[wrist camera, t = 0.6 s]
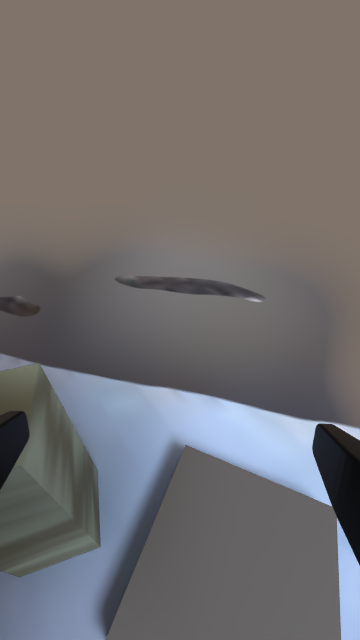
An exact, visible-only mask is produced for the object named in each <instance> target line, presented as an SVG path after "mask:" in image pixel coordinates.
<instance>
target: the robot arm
mask: <svg viewBox="0 0 360 640" xmlns="http://www.w3.org/2000/svg"><path fill="white" fill-rule="evenodd" d="M29 436H30V431H29V426H28V420H27V415H26V413H25V412H24V411H9V412H6V413H4V414H2V415H0V490H1V488H2V487H3V485H4V483H5V481H6V480H7V478H8V476H9V474H10V473H11V471H12V469H13V467H14V465H15V464H16V462H17V460H18V458H19V456H20V455H21V453H22V451H23V449H24V447H25V446H26V444H27V442H28V440H29ZM312 449H313V455H314V458H315V460H316V463H317V466H318V469H319V471H320V474H321V477H322V480H323V482H324V485H325V488H326V491H327V493H328V496H329V499H330V501H331V504H332V507H333V509H334V511H335V514H336V516H337V518H338V520H339V523H340V525H341V527H342V529H343V531H344V533H345V535H346V537H347V539H348V542H349V544H350V546H351V548H352V550H353V552H354V554H355V556H356V558H357V561H358V563H359V565H360V440H358V439H356V438H355V437H353V436H351V435H350V434H348V433H346V432H345V431H343V430H341V429H340V428H338V427H336V426H335V425H333V424H318V425H317V426H316V429H315V435H314V440H313V447H312Z"/></svg>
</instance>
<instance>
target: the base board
mask: <svg viewBox="0 0 360 640" xmlns="http://www.w3.org/2000/svg"><path fill="white" fill-rule="evenodd" d="M106 640H341V626H340V598H339V570H338V543H337V516H336V514H335V511H334V509H333V507H331V506H329V505H327V504H324V503H322V502H319V501H317V500H315V499H312V498H310V497H308V496H305V495H303V494H301V493H298V492H296V491H293V490H291V489H289V488H286V487H284V486H282V485H279V484H277V483H274V482H272V481H270V480H267V479H265V478H263V477H260V476H258V475H256V474H253V473H251V472H248V471H246V470H244V469H241V468H239V467H237V466H234V465H232V464H229V463H227V462H225V461H222V460H220V459H218V458H215V457H213V456H211V455H208V454H206V453H203V452H201V451H199V450H196V449H194V448H192V447H189V446H187V445H185V447H184V450H183V452H182V455H181V457H180V460H179V462H178V464H177V467H176V469H175V472H174V474H173V477H172V479H171V481H170V484H169V486H168V489H167V491H166V494H165V496H164V499H163V501H162V503H161V506H160V508H159V511H158V513H157V516H156V518H155V521H154V523H153V525H152V528H151V530H150V533H149V535H148V538H147V540H146V542H145V545H144V547H143V550H142V552H141V555H140V557H139V560H138V562H137V564H136V567H135V569H134V572H133V574H132V577H131V579H130V582H129V584H128V586H127V589H126V591H125V594H124V596H123V599H122V601H121V603H120V606H119V608H118V611H117V613H116V616H115V618H114V621H113V623H112V625H111V628H110V630H109V633H108V635H107V638H106Z"/></svg>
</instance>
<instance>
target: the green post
mask: <svg viewBox="0 0 360 640" xmlns="http://www.w3.org/2000/svg"><path fill="white" fill-rule="evenodd" d="M9 411H24V412H25V413H26V415H27V420H28V426H29V431H30V436H29V440H28V442H27V444H26V446H25V447H24V449H23V451H22V453H21V455H20V456H19V458H18V460H17V462H16V464H15V465H14V467H13V469H12V471H11V473H10V474H9V476H8V478H7V480H6V481H5V483H4V485H3V487H2V488H1V490H0V571H3V572H6V573H9V574H12V575H14V576H17V577H22V576H24V575H27V574H30V573H32V572H35V571H38V570H40V569H43V568H46V567H48V566H51V565H54V564H56V563H59V562H62V561H64V560H67V559H70V558H72V557H75V556H78V555H80V554H83V553H86V552H88V551H91V550H94V549H96V548H99V547H100V523H99V499H98V475H97V468H96V467H95V465H94V463H93V461H92V459H91V457H90V456H89V454H88V452H87V450H86V448H85V446H84V445H83V443H82V441H81V439H80V437H79V435H78V433H77V432H76V430H75V428H74V426H73V424H72V422H71V421H70V419H69V417H68V415H67V413H66V411H65V410H64V408H63V406H62V404H61V402H60V400H59V399H58V397H57V395H56V393H55V391H54V389H53V387H52V386H51V384H50V382H49V380H48V378H47V376H46V375H45V373H44V371H43V369H42V367H41V365H40V364H39V363H37V364H32V365H28V366H23V367H18V368H14V369H9V370H4V371H0V415H2V414H4V413H6V412H9Z"/></svg>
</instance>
